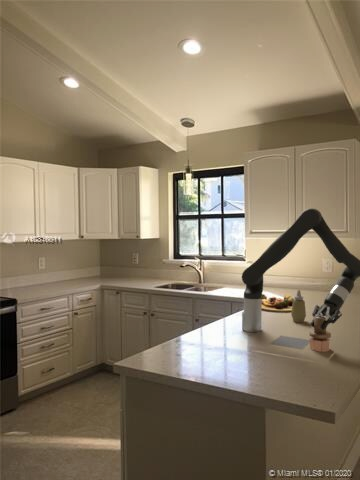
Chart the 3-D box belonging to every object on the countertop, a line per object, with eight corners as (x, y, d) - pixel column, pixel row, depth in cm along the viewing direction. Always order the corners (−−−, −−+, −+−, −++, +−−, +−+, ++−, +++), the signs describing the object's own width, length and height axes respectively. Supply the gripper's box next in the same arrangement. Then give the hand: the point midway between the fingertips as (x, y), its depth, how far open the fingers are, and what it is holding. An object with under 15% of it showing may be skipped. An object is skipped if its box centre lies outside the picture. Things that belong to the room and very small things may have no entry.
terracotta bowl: (308, 350, 178) (308, 339, 177) (313, 346, 184) (313, 335, 184) (327, 353, 173) (327, 342, 173) (331, 349, 180) (331, 337, 180)
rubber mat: (269, 345, 186) (269, 343, 186) (280, 336, 200) (280, 335, 200) (302, 350, 178) (302, 349, 178) (311, 341, 192) (311, 340, 192)
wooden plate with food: (243, 305, 277) (243, 293, 277) (280, 300, 291) (281, 289, 290) (272, 316, 248) (273, 302, 248) (312, 310, 262) (312, 298, 261)
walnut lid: (307, 336, 177) (307, 318, 177) (312, 331, 185) (312, 314, 185) (328, 339, 172) (328, 321, 172) (332, 334, 180) (333, 316, 180)
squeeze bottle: (305, 320, 234) (306, 289, 233) (306, 323, 226) (306, 291, 225) (291, 319, 236) (291, 288, 235) (291, 322, 228) (291, 290, 227)
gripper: (320, 290, 188) (300, 318, 183) (345, 294, 175) (325, 325, 170) (328, 300, 190) (309, 328, 185) (354, 305, 178) (334, 336, 173)
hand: (317, 327), depth 178 cm, fingers closed on walnut lid, 5 cm apart
